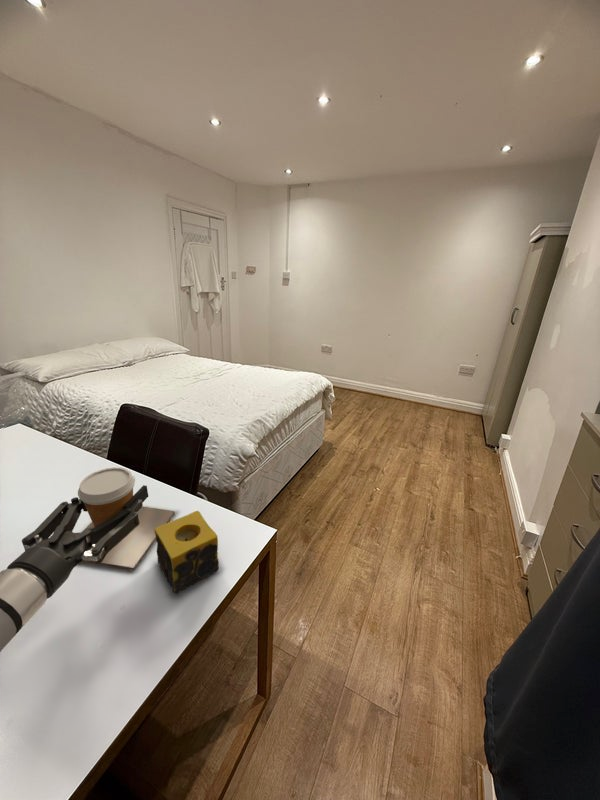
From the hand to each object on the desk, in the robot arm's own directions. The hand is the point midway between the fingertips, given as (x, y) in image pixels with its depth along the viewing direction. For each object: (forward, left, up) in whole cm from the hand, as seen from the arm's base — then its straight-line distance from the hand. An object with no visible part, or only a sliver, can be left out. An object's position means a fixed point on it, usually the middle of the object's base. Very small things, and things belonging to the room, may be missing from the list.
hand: (126, 488), depth 67 cm
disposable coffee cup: (0, -5, -7) cm, 8 cm away
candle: (+13, -2, -18) cm, 22 cm away
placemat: (-7, +4, -18) cm, 20 cm away
